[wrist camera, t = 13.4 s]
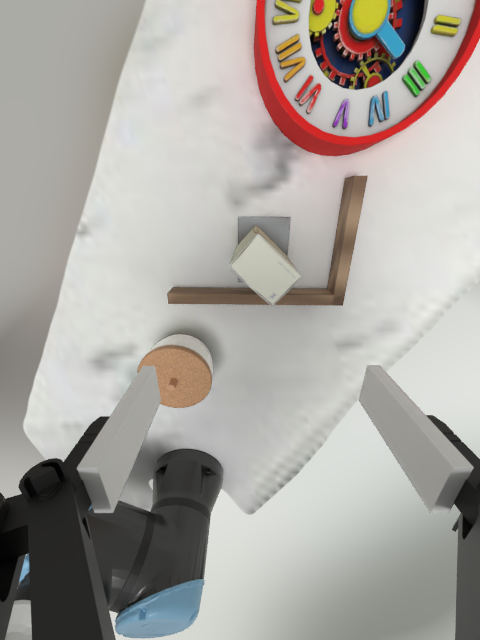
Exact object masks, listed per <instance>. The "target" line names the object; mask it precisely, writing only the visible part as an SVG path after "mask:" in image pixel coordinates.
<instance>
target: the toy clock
mask: <svg viewBox="0 0 480 640" xmlns="http://www.w3.org/2000/svg"><path fill="white" fill-rule="evenodd" d="M479 39H480V0H257V6H256V22H255V38H254V57H255V70H256V75H257V80H258V85H259V90H260V93H261V96H262V98H263V101H264V104H265V107H266V109H267V110H268V112H269V114H270V116H271V118H272V120H273V121H274V123H275V124H276V125H277V127H278V128H279V129H280V130H281V132H282V133H283V134H284V135H285V136H286V137H287V138H288V139H290V140H291V141H292V142H293V143H294V144H296V145H298V146H299V147H301V148H303V149H305V150H307V151H309V152H313V153H316V154H319V155H327V156H340V155H348V154H352V153H355V152H358V151H361V150H364V149H366V148H368V147H370V146H372V145H374V144H376V143H378V142H380V141H382V140H384V139H386V138H389V137H390V136H392V135H394V134H396V133H398V132H400V131H402V130H404V129H406V128H407V127H409V126H410V125H411V124H413V123H414V122H415V121H417V120H418V119H419V118H421V117H422V116H423V115H425V114H426V113H427V112H428V111H429V110H430V109H431V108H432V107H433V106H434V105H435V104H436V103H437V102H438V101H439V100H440V99H441V98H442V97H443V95H444V94H445V93H446V92H447V90H448V89H449V88H450V87H451V85H452V84H453V83H454V81H455V80H456V79H457V78H458V76H459V74H460V73H461V71H462V70H463V68H464V66H465V65H466V63H467V62H468V60H469V58H470V57H471V55H472V53H473V51H474V49H475V47H476V45H477V43H478V41H479Z"/></svg>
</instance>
